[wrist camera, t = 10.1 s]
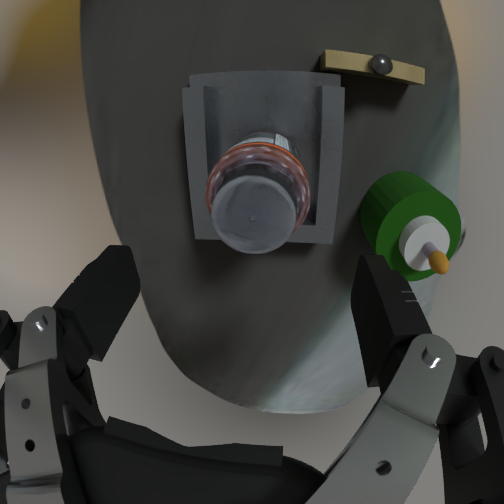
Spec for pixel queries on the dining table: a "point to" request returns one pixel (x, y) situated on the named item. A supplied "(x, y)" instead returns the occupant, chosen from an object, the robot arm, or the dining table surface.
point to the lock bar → (371, 67)
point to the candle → (410, 225)
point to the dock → (274, 120)
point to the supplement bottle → (258, 193)
